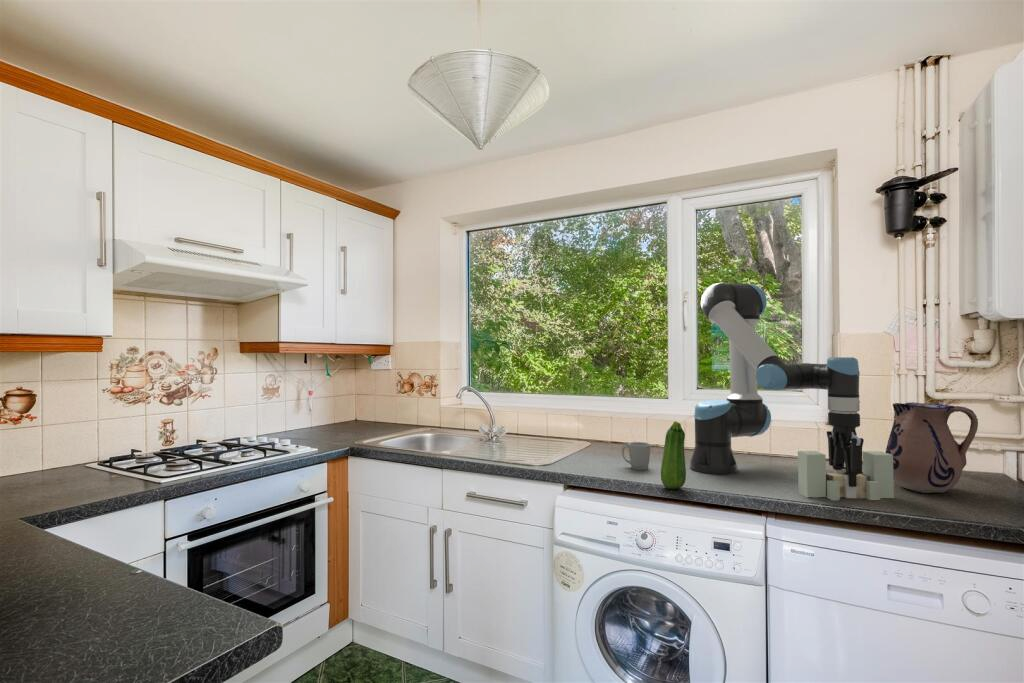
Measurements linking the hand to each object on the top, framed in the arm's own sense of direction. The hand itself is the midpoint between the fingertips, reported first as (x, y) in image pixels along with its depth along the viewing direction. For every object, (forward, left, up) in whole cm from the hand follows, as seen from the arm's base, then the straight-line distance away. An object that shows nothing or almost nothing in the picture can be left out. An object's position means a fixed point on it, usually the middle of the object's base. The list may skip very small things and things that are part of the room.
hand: (845, 495), depth 143 cm
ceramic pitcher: (+28, +7, 0) cm, 29 cm away
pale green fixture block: (+8, 0, 0) cm, 8 cm away
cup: (-52, +32, 0) cm, 61 cm away
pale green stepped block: (-8, 0, 0) cm, 8 cm away
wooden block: (0, 0, 0) cm, 0 cm away
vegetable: (-46, +6, 0) cm, 47 cm away
